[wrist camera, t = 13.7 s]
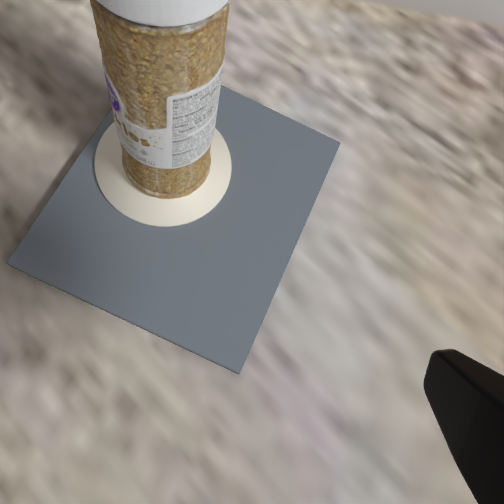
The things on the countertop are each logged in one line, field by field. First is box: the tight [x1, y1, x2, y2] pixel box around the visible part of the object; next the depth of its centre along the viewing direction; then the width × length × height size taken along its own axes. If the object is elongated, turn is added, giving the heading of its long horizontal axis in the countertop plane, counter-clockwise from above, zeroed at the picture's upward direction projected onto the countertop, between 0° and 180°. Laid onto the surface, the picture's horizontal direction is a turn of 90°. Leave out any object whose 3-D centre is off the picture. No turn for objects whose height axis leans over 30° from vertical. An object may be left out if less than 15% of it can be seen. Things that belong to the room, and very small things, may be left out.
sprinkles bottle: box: [90, 0, 231, 199], centre depth 17 cm, size 5×5×13 cm
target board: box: [7, 85, 340, 374], centre depth 24 cm, size 14×12×1 cm
